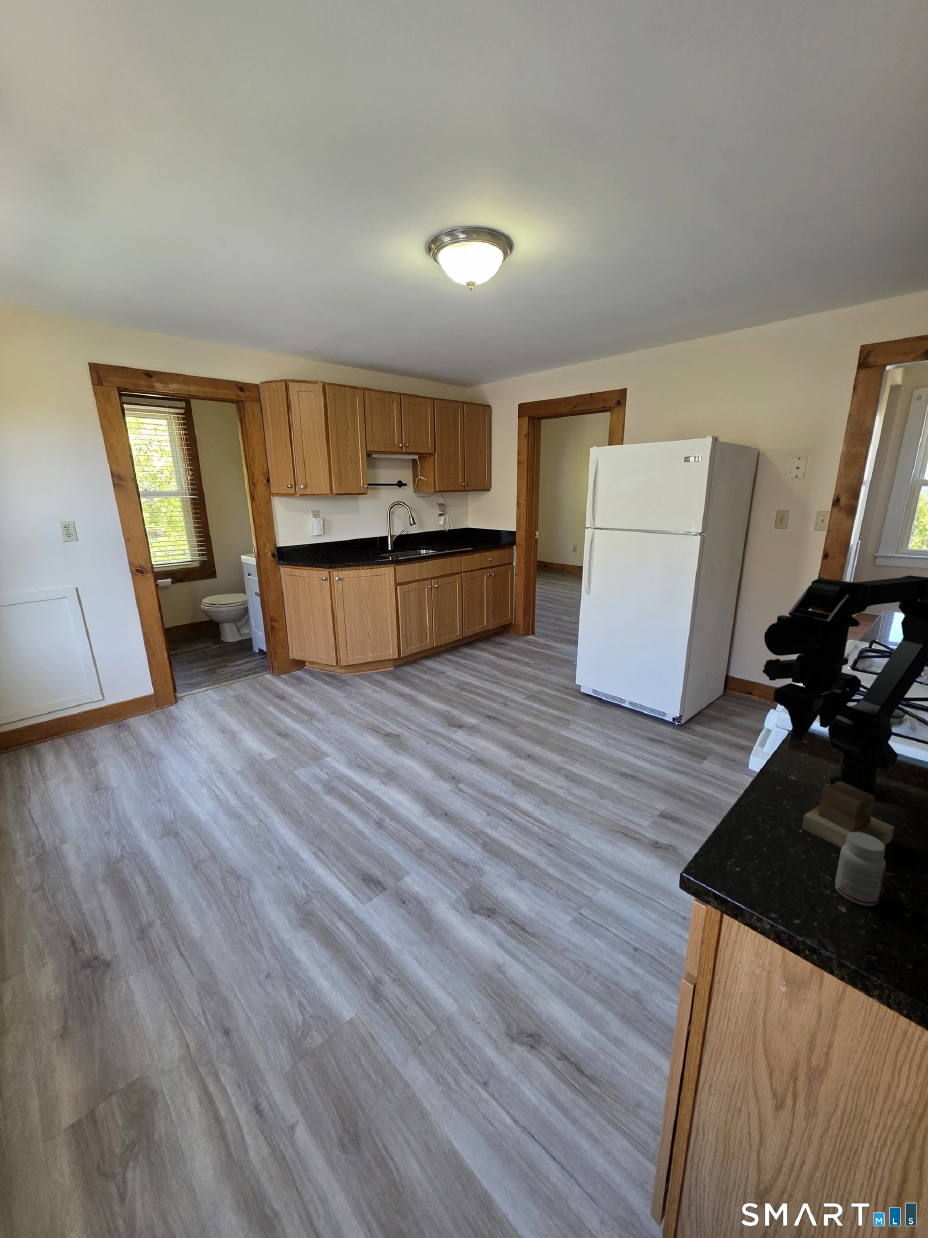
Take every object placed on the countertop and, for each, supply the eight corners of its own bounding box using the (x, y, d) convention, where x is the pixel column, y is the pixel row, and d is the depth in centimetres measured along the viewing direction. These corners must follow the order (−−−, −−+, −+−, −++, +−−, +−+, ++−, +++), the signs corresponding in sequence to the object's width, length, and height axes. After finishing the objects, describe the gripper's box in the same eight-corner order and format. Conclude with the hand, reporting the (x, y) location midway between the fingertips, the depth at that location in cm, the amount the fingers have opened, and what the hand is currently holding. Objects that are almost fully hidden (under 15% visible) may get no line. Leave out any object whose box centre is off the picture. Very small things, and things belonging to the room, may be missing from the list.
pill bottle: (886, 910, 64) (898, 855, 62) (846, 904, 65) (856, 850, 63) (865, 883, 68) (875, 832, 66) (827, 879, 69) (836, 827, 67)
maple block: (827, 813, 85) (830, 798, 84) (891, 843, 77) (894, 827, 77) (801, 830, 80) (804, 815, 80) (866, 863, 73) (869, 846, 72)
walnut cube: (835, 807, 82) (840, 781, 81) (869, 824, 77) (875, 796, 76) (818, 815, 80) (822, 788, 79) (852, 832, 75) (857, 804, 74)
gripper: (800, 634, 95) (789, 707, 99) (748, 648, 86) (738, 728, 89) (868, 647, 86) (854, 727, 89) (818, 664, 76) (804, 753, 80)
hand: (811, 733), depth 87 cm, fingers open, 9 cm apart
